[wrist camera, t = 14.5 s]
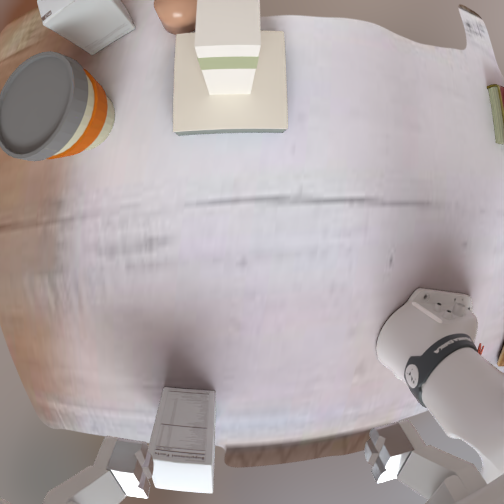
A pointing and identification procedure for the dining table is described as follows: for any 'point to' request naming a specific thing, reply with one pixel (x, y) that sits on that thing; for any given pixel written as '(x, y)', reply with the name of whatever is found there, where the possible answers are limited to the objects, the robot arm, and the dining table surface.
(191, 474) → the supplement box
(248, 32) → the carton
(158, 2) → the peach cylinder
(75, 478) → the robot arm
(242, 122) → the podium
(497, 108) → the hardcover book
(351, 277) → the dining table surface
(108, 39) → the skincare box
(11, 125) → the reusable coffee cup
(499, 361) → the tan ankle boot
